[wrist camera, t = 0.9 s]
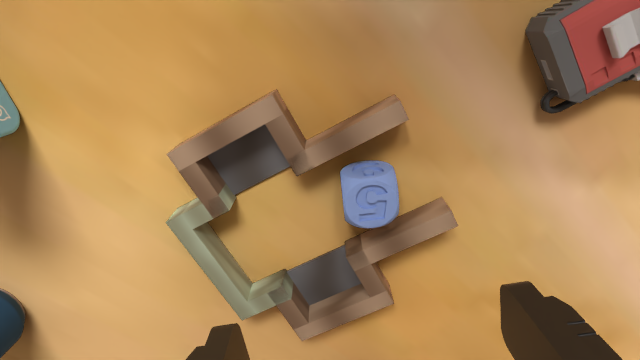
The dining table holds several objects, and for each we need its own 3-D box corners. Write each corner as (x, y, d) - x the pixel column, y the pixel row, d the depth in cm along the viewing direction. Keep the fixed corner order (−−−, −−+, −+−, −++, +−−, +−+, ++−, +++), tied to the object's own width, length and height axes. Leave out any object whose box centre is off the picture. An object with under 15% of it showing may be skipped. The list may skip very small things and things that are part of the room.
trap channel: (367, 37, 27) (371, 39, 25) (467, 252, 33) (478, 268, 31) (143, 163, 31) (129, 175, 29) (272, 334, 37) (268, 354, 35)
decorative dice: (343, 207, 32) (346, 231, 28) (339, 163, 31) (340, 181, 27) (391, 202, 32) (400, 226, 28) (389, 157, 30) (398, 175, 27)
